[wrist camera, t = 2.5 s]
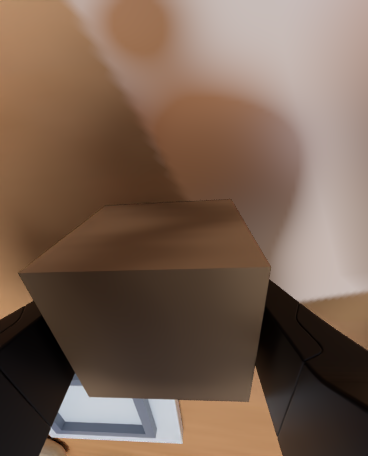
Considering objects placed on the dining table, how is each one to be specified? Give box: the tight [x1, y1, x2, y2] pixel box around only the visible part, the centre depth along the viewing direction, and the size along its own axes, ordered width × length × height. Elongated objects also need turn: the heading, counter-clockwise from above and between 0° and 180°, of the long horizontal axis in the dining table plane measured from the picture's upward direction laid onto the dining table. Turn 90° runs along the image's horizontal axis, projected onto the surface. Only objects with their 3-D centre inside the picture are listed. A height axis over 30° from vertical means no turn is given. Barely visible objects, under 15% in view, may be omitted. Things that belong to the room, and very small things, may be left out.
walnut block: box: [18, 199, 271, 402], centre depth 8 cm, size 6×6×5 cm
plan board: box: [49, 373, 183, 444], centre depth 16 cm, size 14×16×2 cm
